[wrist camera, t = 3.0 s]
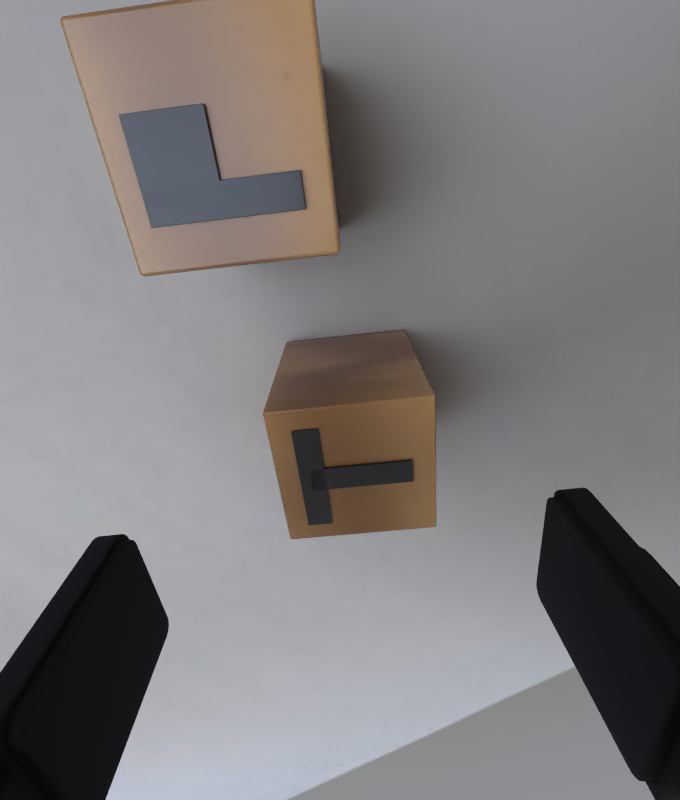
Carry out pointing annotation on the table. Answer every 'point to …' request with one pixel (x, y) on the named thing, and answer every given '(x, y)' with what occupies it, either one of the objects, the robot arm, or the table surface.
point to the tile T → (353, 436)
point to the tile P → (211, 129)
